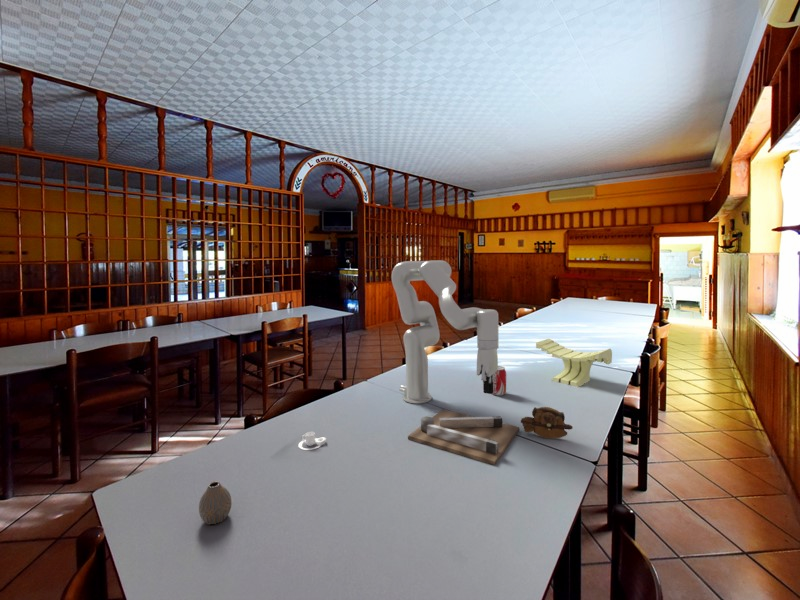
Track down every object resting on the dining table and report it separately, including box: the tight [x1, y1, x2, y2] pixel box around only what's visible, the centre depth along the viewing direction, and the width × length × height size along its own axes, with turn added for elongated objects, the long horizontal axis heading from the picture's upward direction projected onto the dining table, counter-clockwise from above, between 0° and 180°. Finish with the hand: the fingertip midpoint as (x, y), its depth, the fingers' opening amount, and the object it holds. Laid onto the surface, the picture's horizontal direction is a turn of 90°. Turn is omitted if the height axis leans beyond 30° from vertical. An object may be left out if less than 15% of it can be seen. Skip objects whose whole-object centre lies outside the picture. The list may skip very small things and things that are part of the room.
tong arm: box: [439, 415, 503, 428], centre depth 130 cm, size 22×2×3 cm, turn 92°
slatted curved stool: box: [535, 338, 613, 388], centre depth 181 cm, size 30×16×18 cm, turn 41°
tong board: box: [407, 408, 520, 466], centre depth 127 cm, size 30×26×5 cm
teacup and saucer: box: [297, 431, 327, 451], centre depth 122 cm, size 9×8×4 cm
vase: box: [198, 481, 233, 525], centre depth 86 cm, size 7×7×9 cm
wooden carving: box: [520, 406, 574, 440], centre depth 124 cm, size 16×5×10 cm, turn 70°
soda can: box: [491, 365, 507, 397], centre depth 164 cm, size 7×7×12 cm
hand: (488, 392), depth 134 cm, fingers closed
